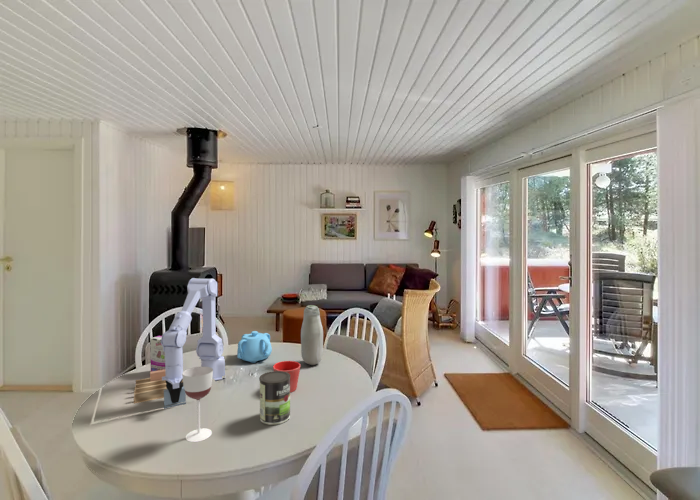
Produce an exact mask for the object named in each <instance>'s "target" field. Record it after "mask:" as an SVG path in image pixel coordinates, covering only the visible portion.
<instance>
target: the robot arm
mask: <svg viewBox="0 0 700 500" xmlns="http://www.w3.org/2000/svg"><path fill="white" fill-rule="evenodd" d="M186 290H187V295H186V298H185V300H184V302H183V306H182V309H181V311H178V312H177V313H176V314H175V316H174V318H173V321H172V323H171V324H170V326H169V329H168V330H166V331H165V332H163V334H162V335H161V336H162V339H161V345H162V346H163V351H164V352H165V374H166V376H164V377H162V380H166V387H167V389H168V391H169V393H170V397H171V401H172V403H176V402H179V398H180V392H181V389H182V387H183V382H182V380H183V376H182V373H183V372H184V357H183V353H184V352H183V346H184V345H185V343H186V342H187V333H188V332H187V330H188V328H189V327H190V324H191V322H192V319H193V317H192V313H193V311H194V309H195V308H196V306H197V304H198V302H199V300H200V299H201V301H202V306H201V307H202V308H201V309H202V336H201V337H200V338H199V339H198V340H197V344H196V348H195V353H196V355H197V357H198V359H199V360H200V367H210V368H212V369H213V378H212V380H215V382H216V381H221V380H223V379H222V376H224V375H225V376H226V362H225V361H226V360H225V357H224V355H223V353H224V348H225V347H224V343H223V339H222V338H221V337H220V336H219V335H218V334H217V333H216V332H217V331H216V330H217V329H216V322H217V321H216V320H217V319H216V318H217V317H216V297H218V281H216V279H214V278H195V277H192V278H191V279H189V280H188V283H187V289H186ZM181 382H182V383H181ZM176 404H177V403H176Z"/></svg>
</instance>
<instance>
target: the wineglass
mask: <svg viewBox="0 0 700 500" xmlns="http://www.w3.org/2000/svg"><path fill="white" fill-rule="evenodd" d="M182 376H183V385H184V389H185V393H186V396H187V397H189V398H190V399H193V400H196V410H197V411H196V412H197V413H196V414H197V415H196V417H197V418H196V419H197V421H196V422H197V426H196V427H197V428H196V429H194V430H191V431H190V432H188V433H187V434H186V435H185V440H186V441H188V442H191V443H194V442H196V443H197V442H202V441H204V440H207V439H208V438H209V437H211V436H212V434H213V432H212V430H211V429H210V428H206V427H205V428H204V427H203V428H201V402H200V401H201V399H203V398H205V397H206V396H207V395H208V394H210V392H211V389H212V385H213V379H212V378H213V369H212V368H210V367H201V366H196V367H191V368H188V369H185V370H183V373H182Z"/></svg>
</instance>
